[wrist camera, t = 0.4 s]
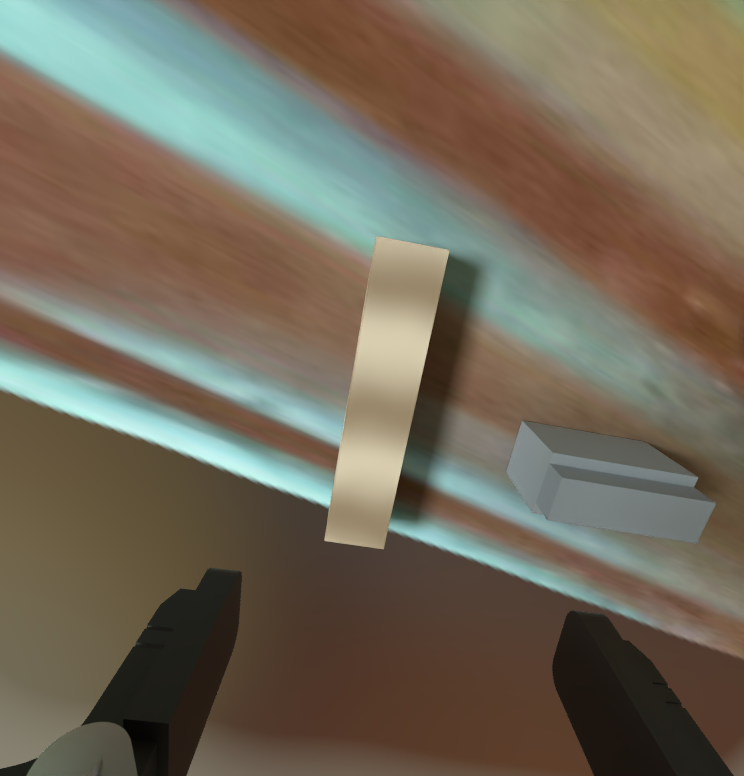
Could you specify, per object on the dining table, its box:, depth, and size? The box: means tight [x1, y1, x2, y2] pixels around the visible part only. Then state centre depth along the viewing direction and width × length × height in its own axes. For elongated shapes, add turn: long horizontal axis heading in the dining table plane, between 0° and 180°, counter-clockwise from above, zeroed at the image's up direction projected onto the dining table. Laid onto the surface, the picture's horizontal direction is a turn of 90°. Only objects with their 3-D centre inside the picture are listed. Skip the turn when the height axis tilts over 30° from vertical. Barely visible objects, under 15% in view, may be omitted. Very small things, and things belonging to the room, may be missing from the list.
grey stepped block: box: [506, 421, 716, 544], centre depth 24 cm, size 4×8×6 cm, turn 79°
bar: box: [325, 236, 449, 549], centre depth 24 cm, size 17×4×4 cm, turn 170°
